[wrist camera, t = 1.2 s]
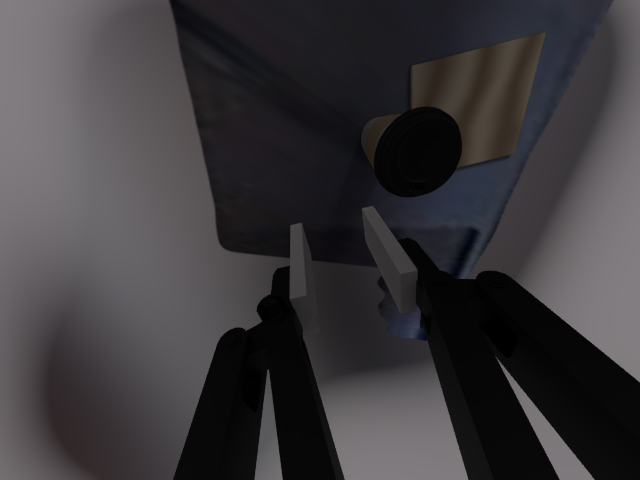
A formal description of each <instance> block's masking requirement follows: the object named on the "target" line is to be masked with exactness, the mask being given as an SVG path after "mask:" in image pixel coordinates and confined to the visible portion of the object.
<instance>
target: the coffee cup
mask: <svg viewBox="0 0 640 480" xmlns="http://www.w3.org/2000/svg"><path fill="white" fill-rule="evenodd" d="M361 144H362V148H363V150H364V152H365V153H366V156H367V158H368V160H369V162H370V164H371V165H372V167H373V168H374V170H375V174H376V177H377V179H378V181H379V183H380V184H381V185H382V187H383V188H384V189H386V190H387V191H388V192H390V193H392V194H395V195H397V196H401V197H417V196H420V195H425V194H428V193H430V192H432V191H434V190H436V189H438V188H439V187H440V186H442V185H443V184H444V183H445V182H446V181H447V180H448V179H449V178H450V177H451V176H452V174H453V173H454V171H455V170H456V168H457V166H458V164H459V161H460V158H461V154H462V139H461V133H460V129H459V126H458V124H457V123H456V121H455V120H454V118H453V117H452V116H450V115H449V114H448V113H446V112H445V111H443V110H441V109H439V108H436V107H429V106H424V107H418V108H414V109H411V110H409V111H407V112H405V113H403V114H393V115H387V116H381V117H376V118H373V119H371V120H370V121H369V122H368V123H367V124H366V125H365V126H364V128H363V131H362V135H361Z"/></svg>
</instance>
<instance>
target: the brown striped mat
mask: <svg viewBox="0 0 640 480" xmlns="http://www.w3.org/2000/svg"><path fill="white" fill-rule="evenodd" d="M545 34H546V32H543V33H539V34H535V35H531V36H527V37H523V38H519V39H515V40H511V41H508V42H504V43H500V44H496V45H492V46H488V47H484V48H480V49H476V50H472V51H468V52H464V53H460V54H456V55H453V56H449V57H445V58H441V59H437V60H433V61H429V62H425V63H421V64H417V65H413V66H411V95H410V110H411V109H414V108H418V107H424V106H429V107H436V108H439V109H441V110H443V111H445V112H446V113H448V114H449V115H450V116H452V117H453V118H454V120H455V121H456V123H457V124H458V126H459V129H460V133H461V139H462V154H461V158H460V161H459V164H458V166H457V168H458V167H462V166H466V165H470V164H474V163H479V162H483V161H487V160H491V159H495V158H500V157H504V156H508V155H512V154H515V151H516V147H517V143H518V139H519V135H520V131H521V127H522V124H523V120H524V116H525V112H526V108H527V104H528V100H529V96H530V92H531V88H532V84H533V80H534V77H535V73H536V69H537V65H538V61H539V57H540V53H541V49H542V45H543V41H544V37H545Z"/></svg>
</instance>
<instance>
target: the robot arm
mask: <svg viewBox="0 0 640 480" xmlns="http://www.w3.org/2000/svg"><path fill="white" fill-rule="evenodd" d="M362 215H363V223H364V232H365V240H366V243H367V245H368V247H369V249H370V251H371V253H372V256H373V258H374V260H375V262H376V264H377V266H378V268H379V270H380V272H381V274H382V276H383V278H384V280H385V282H386V284H387V286H388V288H389V290H390V292H391V295H392V297H393V299H394V301H395V303H396V305H397V307H398V309H399V311H400V313H401V314H404V313H409V312H413V311H416V304H417V305H418V307H419V309H420V310H421V320H420V328H423V327H424V330H425V334H426V337H427V340H428V344H429V347H430V351H431V354H432V357H433V361H434V364H435V368H436V371H437V374H438V378H439V381H440V384H441V388H442V391H443V394H444V398H445V401H446V405H447V408H448V412H449V415H450V418H451V422H452V425H453V428H454V432H455V435H456V439H457V442H458V445H459V449H460V452H461V455H462V459H463V462H464V466H465V469H466V473H467V476H468V479H469V480H559V478H558V476H557V474H556V472H555V470H554V468H553V466H552V464H551V462H550V460H549V458H548V456H547V454H546V453H545V451H544V449H543V447H542V445H541V443H540V441H539V439H538V437H537V435H536V433H535V431H534V430H533V428H532V426H531V424H530V422H529V420H528V418H527V416H526V414H525V412H524V410H523V408H522V406H521V405H520V403H519V401H518V399H517V397H516V395H515V393H514V391H513V389H512V387H511V385H510V383H509V381H508V380H507V378H506V376H505V374H504V372H503V370H502V368H501V366H500V364H499V362H498V360H499V361H500V362H501V363H502V365H503V366H504V367H505V368H506V370H507V371H508V372H509V373H510V375H511V376H512V377H513V378H514V380H515V381H516V382H517V383H518V385H519V386H520V387H521V388H522V389H523V391H524V392H525V393H526V394H527V396H528V397H529V398H530V399H531V401H532V402H533V403H534V404H535V406H536V407H537V408H538V409H539V411H540V412H541V413H542V414H543V416H544V417H545V418H546V419H547V420H548V422H549V423H550V424H551V426H552V427H553V428H554V429H555V430H556V432H557V433H558V434H559V436H560V437H561V438H562V439H563V441H564V442H565V443H566V444H567V446H568V447H569V448H570V449H571V451H572V452H573V453H574V454H575V455H576V457H577V458H578V459H579V460H580V462H581V463H582V464H583V465H584V467H585V468H586V469H587V470H588V472H589V473H590V474H591V475H592V477H593V478H594V479H595V480H640V382H638V381H637V380H636V379H635V378H634V377H632V376H631V375H630V374H629V373H628V372H626V371H625V370H624V369H623V368H621V367H620V366H619V365H618V364H617V363H615V362H614V361H613V360H611V359H610V358H609V357H608V356H607V355H605V354H604V353H603V352H602V351H601V350H599V349H598V348H597V347H595V346H594V345H593V344H592V343H591V342H590V341H588V340H587V339H586V338H584V337H583V336H582V335H581V334H579V333H578V332H577V331H576V330H575V329H574V328H572V327H571V326H570V325H569V324H567V323H566V322H565V321H564V320H562V319H561V318H560V317H559V316H557V315H556V314H555V313H554V312H553V311H551V310H550V309H549V308H547V306H545V305H544V304H543V303H541V302H540V301H539V300H538V299H537V298H535V297H534V296H533V295H532V294H531V293H529V292H528V291H527V290H526V289H524V288H523V287H522V286H520V285H519V284H518V283H517V282H516V281H515V280H513V279H512V278H511V277H509V276H508V275H506V274H504V273H501V272H498V271H483V272H481V273H479V274H478V276H477V278H476V279H456V278H454V277H453V276H452V275H450V274H449V273H447V272H444V271H440V270H439V269H438V267H437V266H436V265H435V264H434V263H433V261H432V260H431V259H430V258H429V257H428V255H427V254H426V253H425V252H424V250H423V249H421V247H420V246H419V244H418V243H417V242H416V241H414V240H412V239H410V238H405V239H401V240H396V238H395V237H394V235H393V234H392V233H391V231H390V230H389V228H388V227H387V225H386V224H385V223H384V221H383V220H382V218H381V217H380V215H379V214H378V213H377V211H376V210H375V208H374V207H373V206H370V207H366V208H362ZM257 312H258V314H259V316H260V318H261V320H262V322H261V323H260V324H258V325H257V326H255V327H253V328H251V329H249V330H247V331H245V329H243V328H233V329H231V330H229V331H227V332H226V333H225V334H224V335H223V336H222V337H221V338H220V340H219V342H218V344H217V347H216V350H215V353H214V356H213V359H212V362H211V365H210V368H209V371H208V374H207V377H206V381H205V384H204V387H203V390H202V393H201V396H200V399H199V402H198V405H197V408H196V411H195V414H194V417H193V421H192V423H191V426H190V429H189V433H188V436H187V439H186V442H185V445H184V448H183V451H182V454H181V457H180V460H179V463H178V466H177V469H176V473H175V476H174V479H173V480H254V477H255V469H256V461H257V453H258V444H259V435H260V427H261V418H262V410H263V402H264V394H265V385H266V376H267V370H268V369H269V373H270V381H271V389H272V397H273V405H274V412H275V421H276V429H277V437H278V445H279V453H280V461H281V469H282V477H283V480H345V479H344V476H343V473H342V469H341V466H340V462H339V459H338V455H337V452H336V448H335V445H334V442H333V438H332V434H331V431H330V428H329V424H328V421H327V418H326V414H325V411H324V407H323V403H322V400H321V397H320V393H319V390H318V386H317V383H316V379H315V376H314V372H313V369H312V366H311V362H310V359H309V355H308V352H307V349H306V345H305V342H304V340H303V332H304V335H309V334H314V333H318V332H319V324H318V314H317V305H316V297H315V287H314V278H313V269H312V260H311V253H310V250H309V246H308V243H307V240H306V236H305V233H304V229H303V226H302V223H299V224H294V225H291V234H290V266H287V267H282V268H278V269H277V270H276V271H275V273H274V275H273V280H272V289H271V295H268V296H266V297H265V298H263V299H262V300H261V301H260V303H259V304H258V306H257ZM495 356H496V357H497V358H498V360H497V358H496V357H495Z"/></svg>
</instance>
